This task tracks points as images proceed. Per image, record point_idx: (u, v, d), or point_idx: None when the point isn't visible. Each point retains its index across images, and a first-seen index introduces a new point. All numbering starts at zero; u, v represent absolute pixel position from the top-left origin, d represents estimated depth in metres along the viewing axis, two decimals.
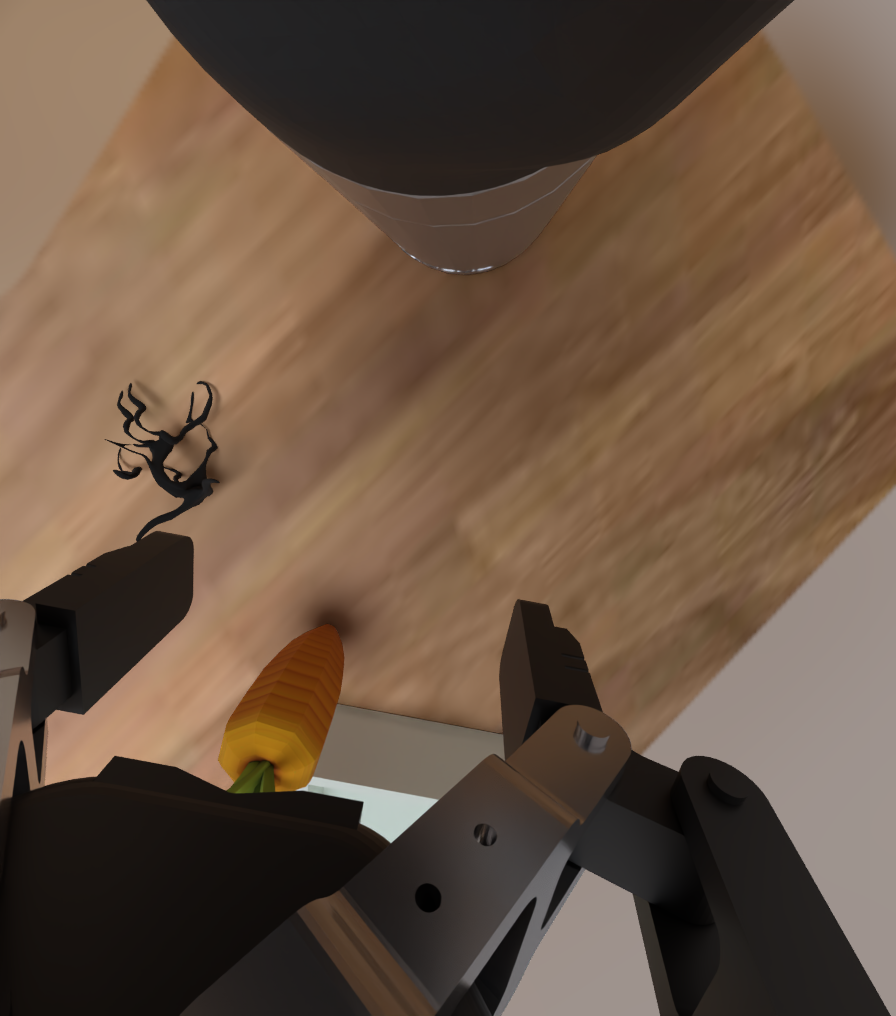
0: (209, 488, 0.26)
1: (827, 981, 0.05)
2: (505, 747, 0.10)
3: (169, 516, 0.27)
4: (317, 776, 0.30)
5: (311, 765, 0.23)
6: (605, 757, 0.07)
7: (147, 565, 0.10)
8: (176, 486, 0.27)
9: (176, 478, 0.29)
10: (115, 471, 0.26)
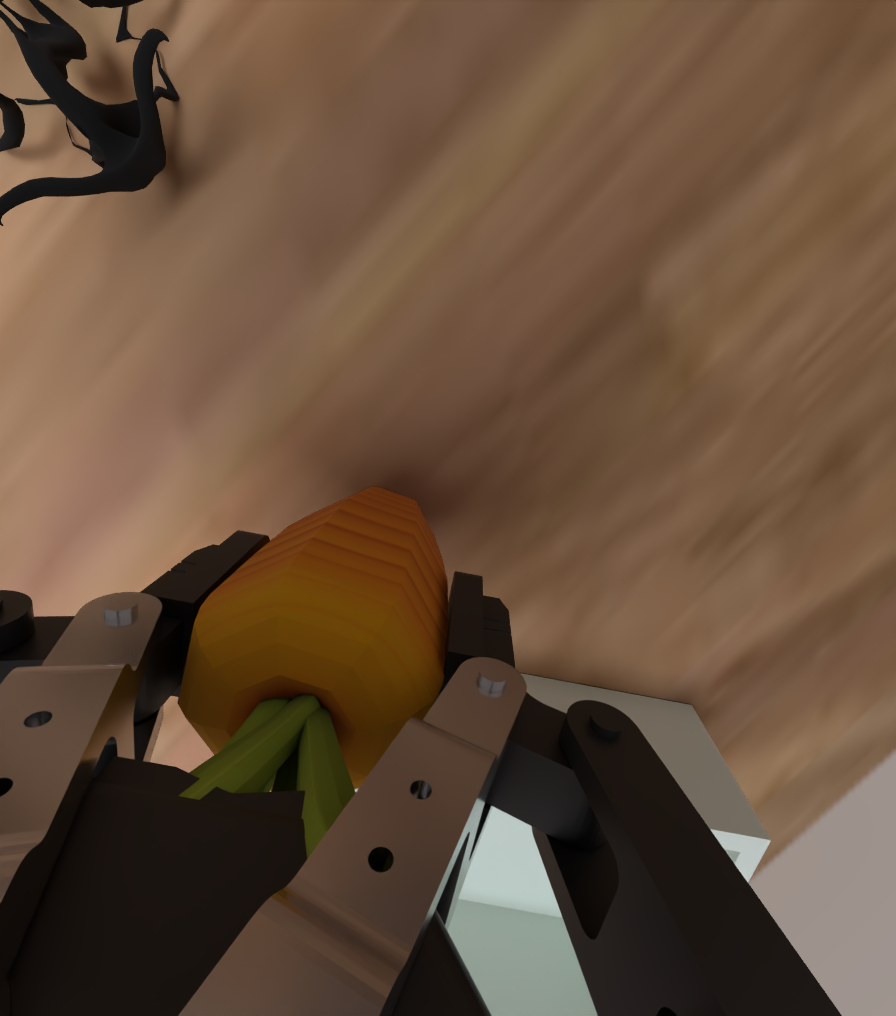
0: (152, 102, 0.12)
1: (702, 871, 0.06)
2: None
3: (70, 183, 0.13)
4: None
5: (425, 713, 0.09)
6: (498, 698, 0.08)
7: (240, 562, 0.11)
8: (81, 100, 0.12)
9: None
10: None
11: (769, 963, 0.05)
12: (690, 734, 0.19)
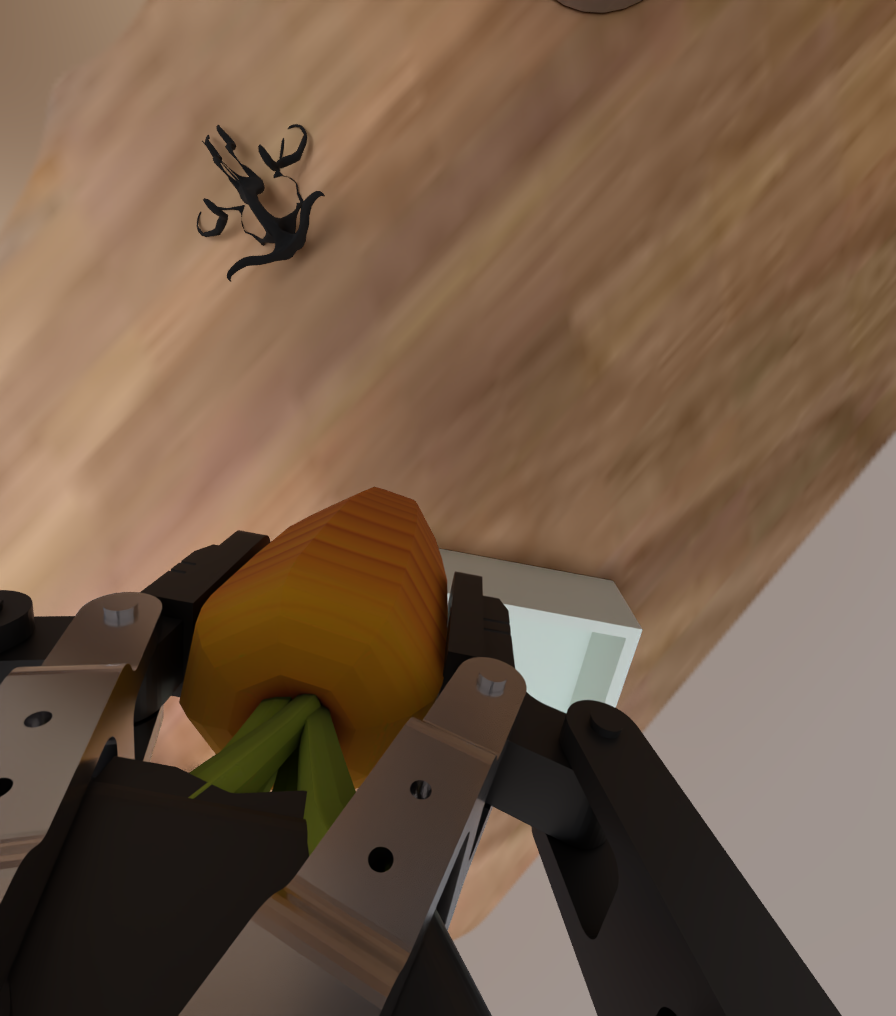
0: (307, 219, 0.24)
1: (702, 871, 0.06)
2: None
3: (261, 258, 0.25)
4: None
5: (425, 713, 0.09)
6: (498, 698, 0.08)
7: (239, 562, 0.11)
8: (271, 218, 0.24)
9: (261, 239, 0.27)
10: (205, 200, 0.24)
11: (768, 963, 0.05)
12: (608, 591, 0.31)
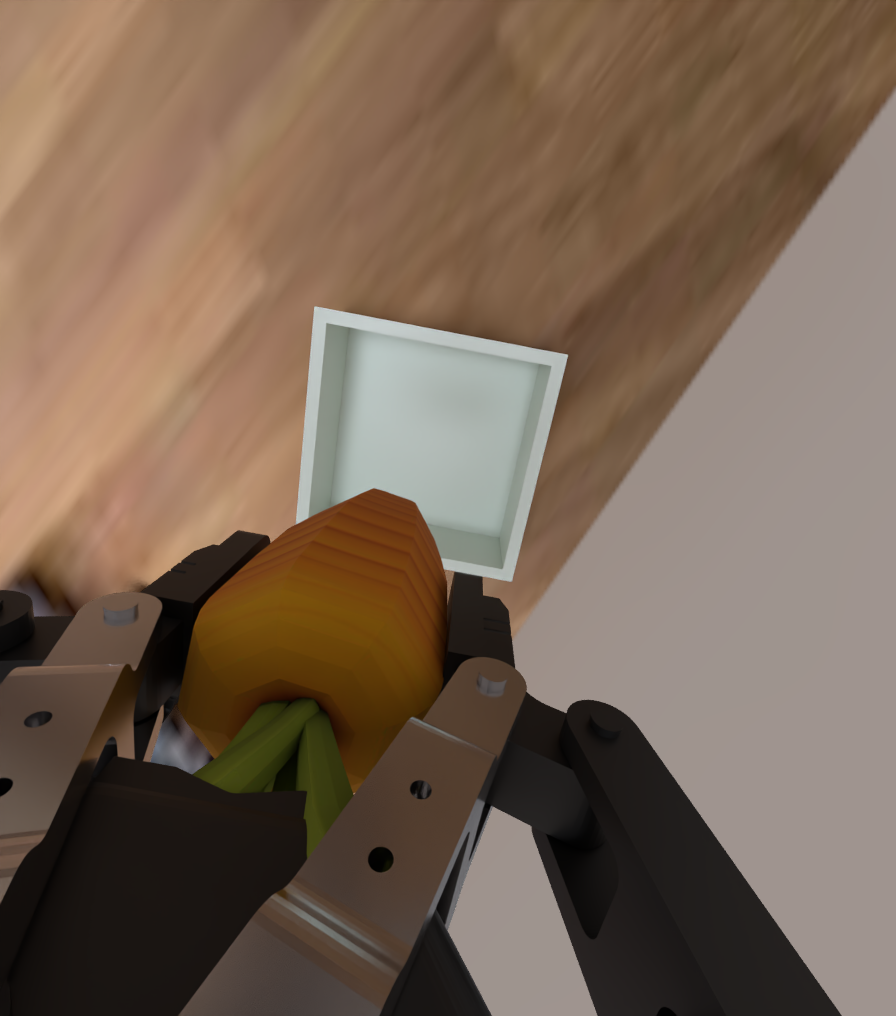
0: None
1: (702, 871, 0.06)
2: None
3: None
4: None
5: (424, 716, 0.09)
6: (498, 698, 0.08)
7: (240, 562, 0.11)
8: None
9: None
10: None
11: (768, 963, 0.05)
12: None
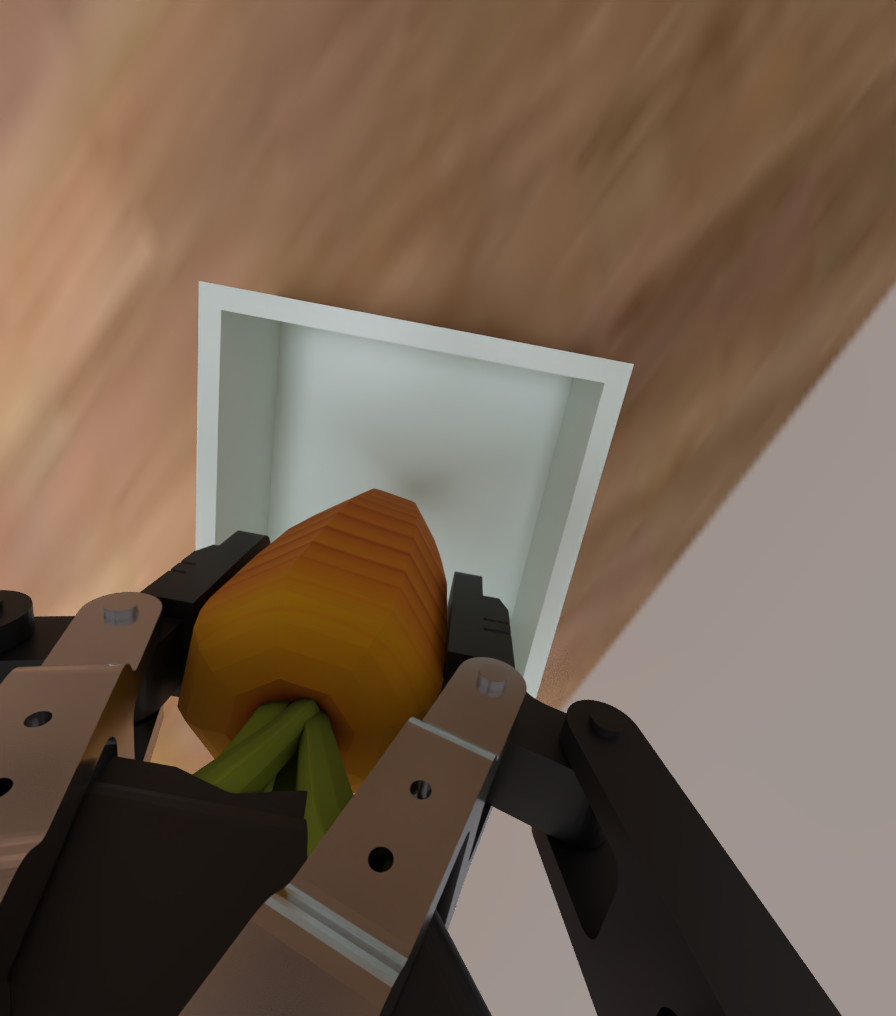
0: None
1: (701, 871, 0.06)
2: None
3: None
4: None
5: None
6: (498, 698, 0.08)
7: (240, 562, 0.11)
8: None
9: None
10: None
11: (770, 964, 0.05)
12: None
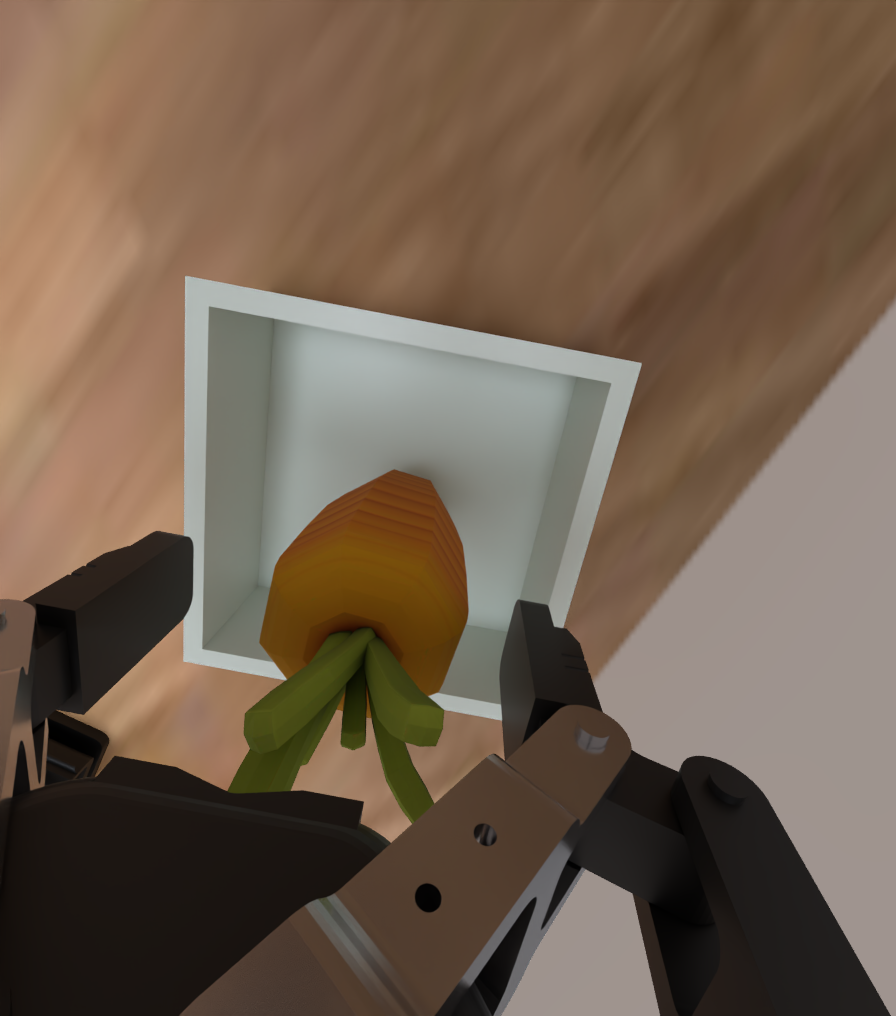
0: None
1: (827, 981, 0.05)
2: (505, 747, 0.10)
3: None
4: None
5: (455, 641, 0.11)
6: (605, 757, 0.07)
7: (147, 565, 0.10)
8: None
9: None
10: None
11: None
12: None
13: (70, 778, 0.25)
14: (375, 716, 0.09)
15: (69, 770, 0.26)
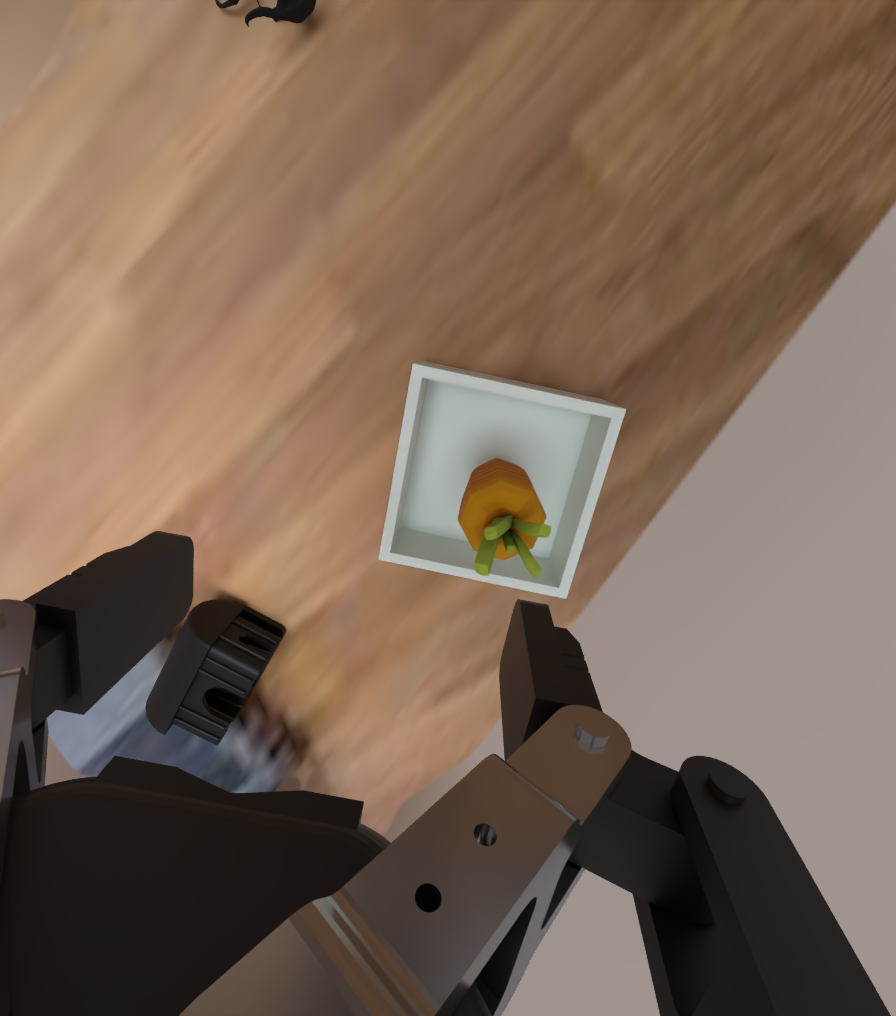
0: None
1: (827, 980, 0.05)
2: (505, 747, 0.10)
3: (275, 11, 0.27)
4: (432, 367, 0.31)
5: (542, 524, 0.27)
6: (605, 757, 0.07)
7: (147, 565, 0.10)
8: None
9: (275, 9, 0.29)
10: None
11: None
12: (597, 399, 0.35)
13: (274, 646, 0.41)
14: (517, 542, 0.25)
15: (273, 642, 0.41)
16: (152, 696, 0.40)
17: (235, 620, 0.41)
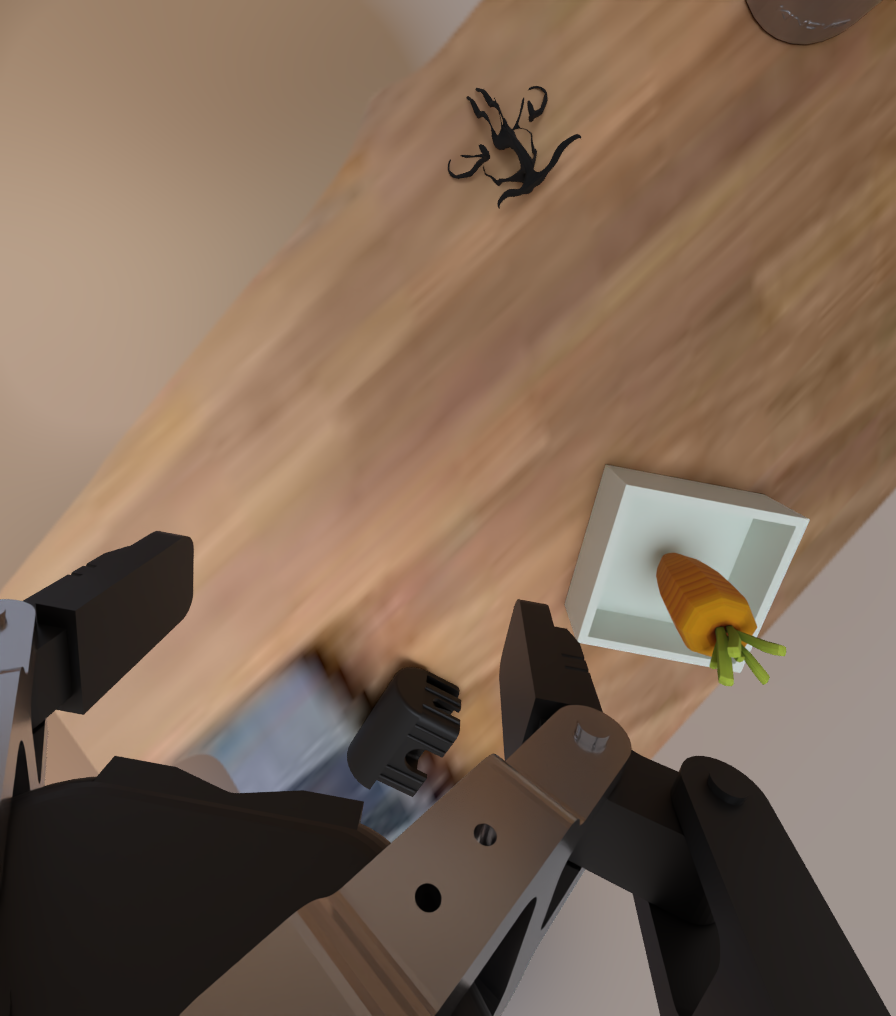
0: (558, 158, 0.32)
1: (827, 980, 0.05)
2: (505, 747, 0.10)
3: (517, 191, 0.32)
4: (642, 487, 0.36)
5: None
6: (605, 757, 0.07)
7: (147, 565, 0.10)
8: (529, 158, 0.32)
9: (502, 179, 0.34)
10: (481, 145, 0.31)
11: None
12: (766, 499, 0.40)
13: (459, 708, 0.46)
14: (744, 652, 0.31)
15: (457, 704, 0.47)
16: (357, 755, 0.46)
17: (425, 686, 0.46)
